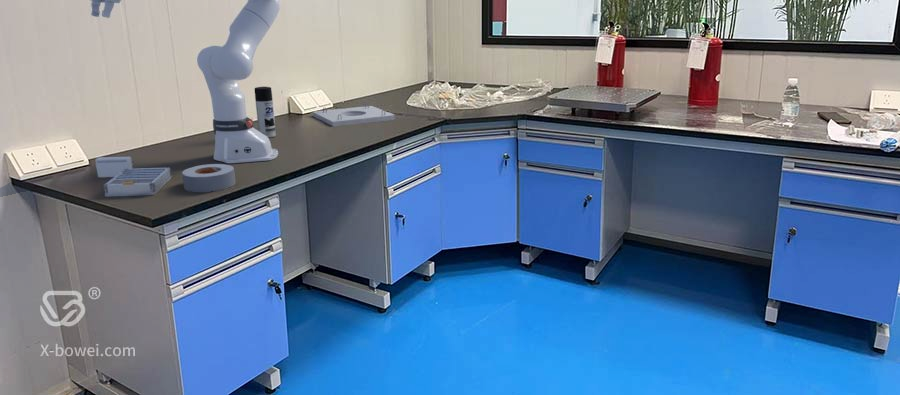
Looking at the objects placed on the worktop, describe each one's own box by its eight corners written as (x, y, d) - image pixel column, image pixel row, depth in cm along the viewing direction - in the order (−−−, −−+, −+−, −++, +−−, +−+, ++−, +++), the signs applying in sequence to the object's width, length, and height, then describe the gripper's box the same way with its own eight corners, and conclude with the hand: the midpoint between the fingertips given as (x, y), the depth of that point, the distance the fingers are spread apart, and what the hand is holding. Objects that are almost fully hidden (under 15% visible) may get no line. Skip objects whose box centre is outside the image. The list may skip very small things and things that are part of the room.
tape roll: (175, 185, 208) (173, 169, 206) (221, 175, 218) (219, 160, 217) (197, 196, 198) (195, 179, 196) (244, 185, 208) (242, 170, 206)
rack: (171, 177, 215) (170, 165, 214) (154, 195, 198) (152, 181, 197) (126, 179, 213) (124, 167, 212) (105, 196, 196) (103, 183, 195)
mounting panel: (312, 106, 310) (371, 100, 324) (312, 117, 312) (371, 111, 326) (332, 116, 288) (395, 109, 302) (333, 127, 290) (395, 120, 304)
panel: (133, 174, 220) (130, 156, 218) (130, 176, 217) (127, 158, 215) (101, 175, 219) (98, 157, 217) (98, 177, 216) (95, 159, 214)
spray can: (266, 139, 267) (262, 89, 260) (255, 137, 270) (250, 88, 264) (279, 136, 272) (275, 87, 266) (267, 134, 275) (263, 85, 269)
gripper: (132, -27, 192) (123, 20, 193) (107, -26, 206) (100, 18, 207) (109, -34, 188) (100, 14, 189) (85, -33, 202) (78, 12, 203)
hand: (100, 16), depth 198 cm, fingers open, 8 cm apart
